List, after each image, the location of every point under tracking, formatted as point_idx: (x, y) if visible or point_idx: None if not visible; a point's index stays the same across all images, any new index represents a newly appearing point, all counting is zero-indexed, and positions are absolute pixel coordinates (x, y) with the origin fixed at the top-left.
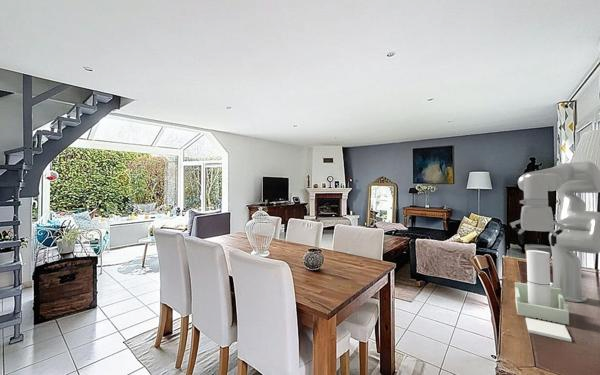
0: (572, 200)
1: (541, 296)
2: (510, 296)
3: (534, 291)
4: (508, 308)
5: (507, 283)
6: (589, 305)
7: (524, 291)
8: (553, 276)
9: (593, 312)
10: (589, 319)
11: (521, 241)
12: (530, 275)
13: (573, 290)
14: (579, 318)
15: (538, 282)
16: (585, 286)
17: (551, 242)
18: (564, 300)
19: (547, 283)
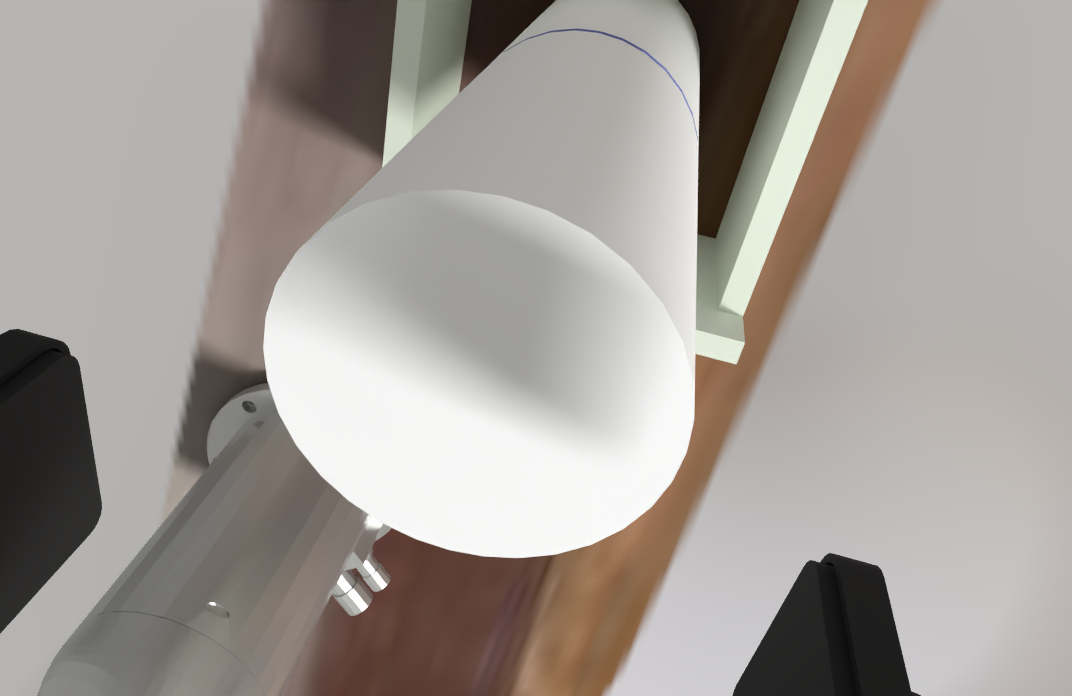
0: None
1: (607, 3)
2: (715, 385)
3: (664, 41)
4: (873, 70)
5: (623, 640)
6: (221, 347)
7: None
8: (325, 588)
9: (226, 216)
10: (284, 48)
11: (885, 620)
12: (686, 130)
13: (254, 451)
14: (346, 41)
15: (614, 44)
16: None
17: (31, 510)
18: (399, 21)
19: (507, 50)
